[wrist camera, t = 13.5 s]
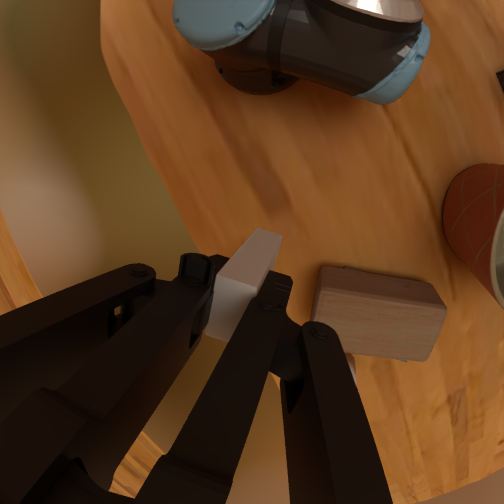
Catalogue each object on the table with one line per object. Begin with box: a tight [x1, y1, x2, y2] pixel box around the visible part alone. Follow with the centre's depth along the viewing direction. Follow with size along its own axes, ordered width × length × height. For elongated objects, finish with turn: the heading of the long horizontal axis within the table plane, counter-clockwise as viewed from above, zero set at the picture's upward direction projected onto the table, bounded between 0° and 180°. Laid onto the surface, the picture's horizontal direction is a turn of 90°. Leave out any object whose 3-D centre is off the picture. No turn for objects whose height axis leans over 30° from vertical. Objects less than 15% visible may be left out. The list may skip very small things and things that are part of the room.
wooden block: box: [310, 266, 447, 362], centre depth 45 cm, size 10×10×20 cm
